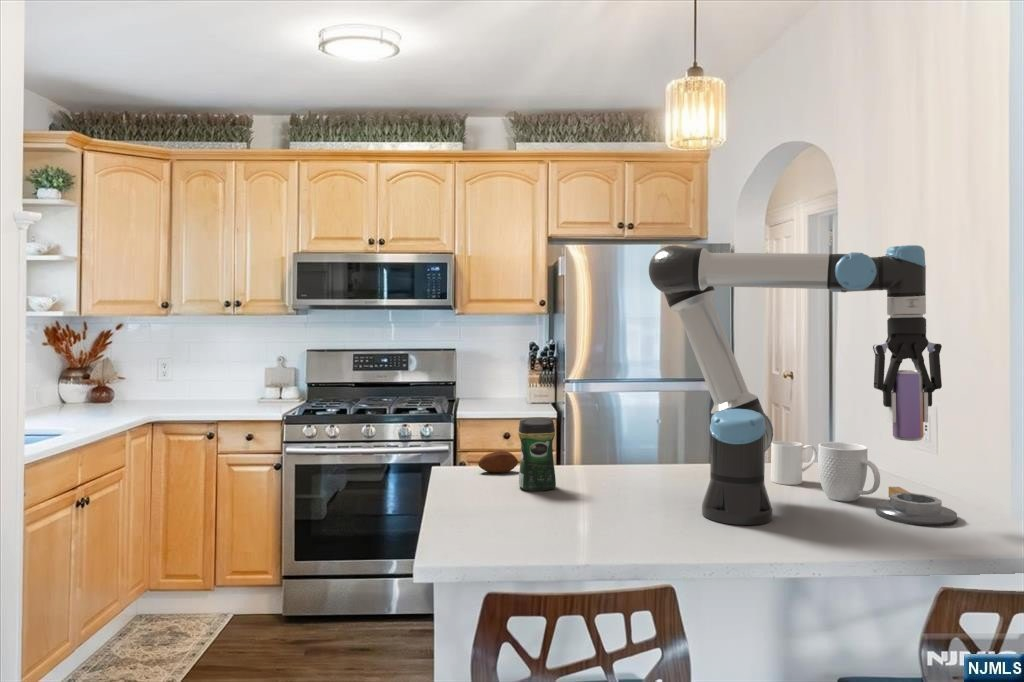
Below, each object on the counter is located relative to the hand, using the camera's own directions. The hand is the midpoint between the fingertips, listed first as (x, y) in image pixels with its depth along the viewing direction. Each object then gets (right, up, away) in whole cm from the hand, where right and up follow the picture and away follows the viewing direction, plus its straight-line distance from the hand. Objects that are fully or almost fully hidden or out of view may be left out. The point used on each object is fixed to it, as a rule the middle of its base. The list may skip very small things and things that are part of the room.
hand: (907, 421), depth 161 cm
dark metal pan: (+4, -22, +5) cm, 22 cm away
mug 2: (-5, -21, +18) cm, 28 cm away
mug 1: (-11, -21, +36) cm, 43 cm away
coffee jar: (-81, -21, +30) cm, 89 cm away
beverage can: (0, -4, 0) cm, 4 cm away
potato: (-91, -20, +49) cm, 105 cm away
